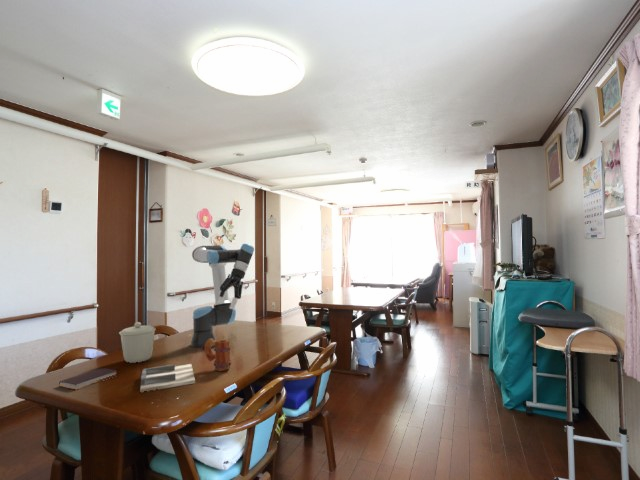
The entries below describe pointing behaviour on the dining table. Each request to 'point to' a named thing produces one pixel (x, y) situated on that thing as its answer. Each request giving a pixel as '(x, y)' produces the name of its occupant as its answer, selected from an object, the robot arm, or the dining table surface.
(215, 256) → the robot arm
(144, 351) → the canister
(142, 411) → the dining table surface
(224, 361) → the mug
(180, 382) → the notched board
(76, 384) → the book
